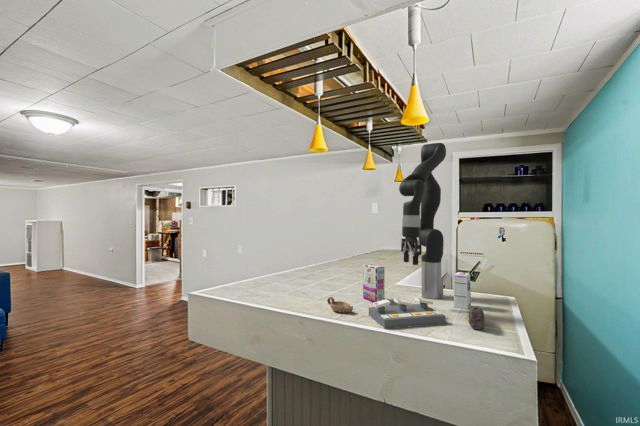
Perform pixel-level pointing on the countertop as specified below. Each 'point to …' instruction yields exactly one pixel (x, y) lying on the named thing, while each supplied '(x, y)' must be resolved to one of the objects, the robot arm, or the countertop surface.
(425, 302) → the rocker
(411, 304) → the middle rocker
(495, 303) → the countertop surface
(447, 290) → the countertop surface
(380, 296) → the candy bar box
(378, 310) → the switch console
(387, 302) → the rocker
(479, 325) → the perforated stone tool
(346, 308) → the oil lamp
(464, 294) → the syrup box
